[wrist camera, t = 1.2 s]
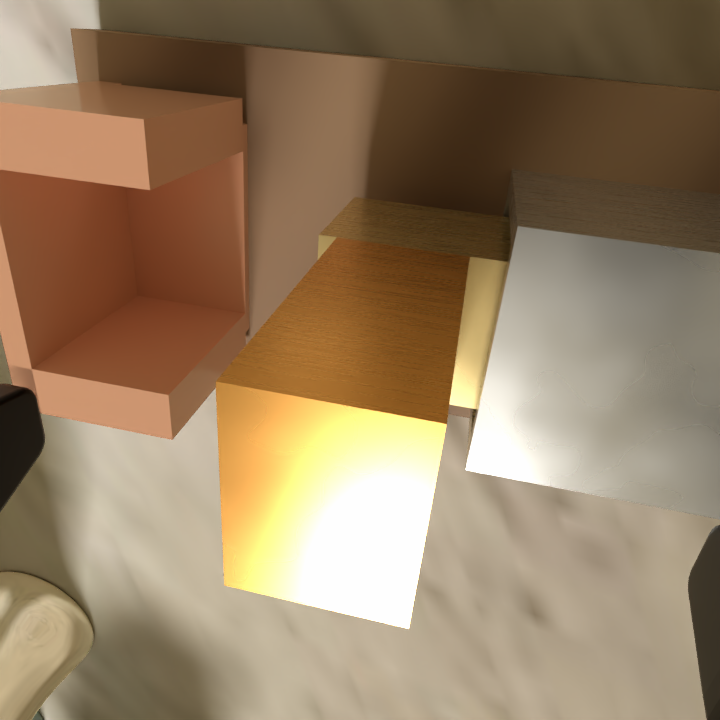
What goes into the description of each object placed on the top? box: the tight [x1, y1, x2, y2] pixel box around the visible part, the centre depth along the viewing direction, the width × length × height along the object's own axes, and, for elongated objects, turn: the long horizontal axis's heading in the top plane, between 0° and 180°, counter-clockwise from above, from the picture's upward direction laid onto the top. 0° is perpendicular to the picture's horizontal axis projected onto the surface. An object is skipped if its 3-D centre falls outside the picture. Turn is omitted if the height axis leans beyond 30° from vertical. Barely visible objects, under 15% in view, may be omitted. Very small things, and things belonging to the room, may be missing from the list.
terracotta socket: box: [0, 81, 249, 440], centre depth 14 cm, size 4×7×5 cm, turn 176°
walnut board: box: [71, 29, 720, 418], centre depth 16 cm, size 20×9×1 cm, turn 86°
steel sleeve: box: [466, 169, 720, 519], centre depth 12 cm, size 8×5×5 cm, turn 85°
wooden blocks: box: [216, 197, 511, 629], centre depth 10 cm, size 12×3×9 cm, turn 86°
